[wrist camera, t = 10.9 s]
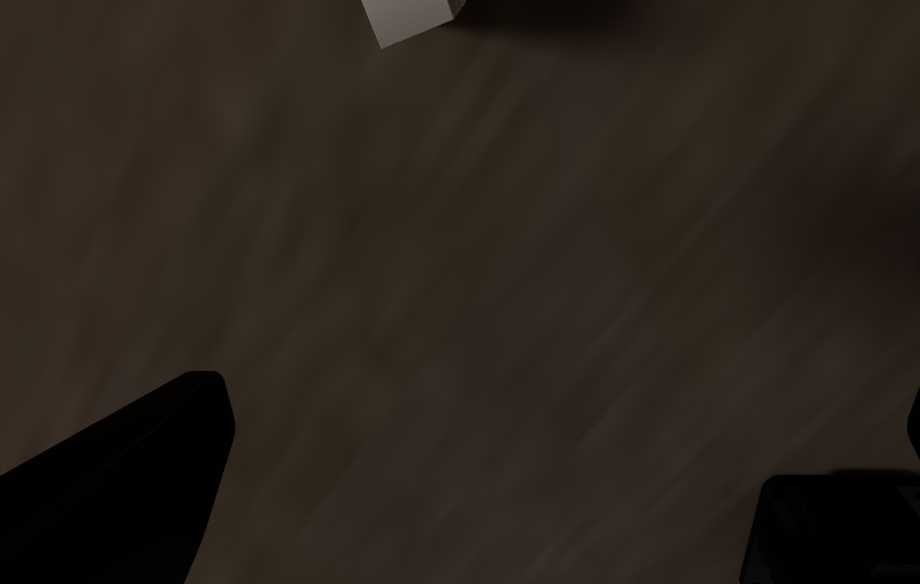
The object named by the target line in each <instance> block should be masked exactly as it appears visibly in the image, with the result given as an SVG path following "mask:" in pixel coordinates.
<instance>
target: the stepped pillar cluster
mask: <svg viewBox="0 0 920 584" xmlns="http://www.w3.org/2000/svg"><path fill="white" fill-rule="evenodd" d="M362 3H363V5H364V8H365V10H366V13H367V15H368V18H369V20H370V23H371V25H372V28H373V30H374V32H375V35H376V37H377V40H378V42H379V45H380V47H381V49H382V48H384V47H387V46H389V45H392V44H394V43H397V42H399V41H402V40H404V39H407V38H409V37H411V36H414V35H416V34H419V33H421V32H424V31H426V30H429V29H431V28H433V27H436V26H438V25H441V24H443V23H446V22H448V21H451V20H453V19H454V18H455V17H456V15H457V14H458V13H459V11H460V10H461V8H462V7H463V6H464V4H465V3H466V0H362Z"/></svg>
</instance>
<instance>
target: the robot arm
mask: <svg viewBox="0 0 920 584" xmlns="http://www.w3.org/2000/svg"><path fill="white" fill-rule="evenodd" d="M907 432H908V436H909V439H910V441H911V443H912V445H913V447H914V449H915V451H916V454H917V456H918V458H919V460H920V387H919V390H918V392H917V395H916V398H915V400H914V403H913V406H912V409H911V411H910V414H909V417H908V421H907ZM234 435H235V419H234V415H233V411H232V407H231V404H230V400H229V396H228V392H227V388H226V385H225V381H224V379H223V377H222V375H221V374H220V373H218V372H217V371H189V372H186V373H184V374H182V375H180V376H178V377H177V378H175V379H173V380H171V381H169V382H168V383H166V384H164V385H162V386H161V387H159V388H157V389H155V390H153V391H152V392H150V393H148V394H146V395H144V396H143V397H141V398H139V399H137V400H135V401H134V402H132V403H130V404H128V405H126V406H125V407H123V408H121V409H119V410H117V411H116V412H114V413H112V414H110V415H109V416H107V417H105V418H103V419H101V420H100V421H98V422H96V423H94V424H92V425H91V426H89V427H87V428H85V429H83V430H82V431H80V432H78V433H76V434H74V435H73V436H71V437H69V438H67V439H65V440H64V441H62V442H60V443H58V444H57V445H55V446H53V447H51V448H49V449H48V450H46V451H44V452H42V453H40V454H39V455H37V456H35V457H33V458H31V459H30V460H28V461H26V462H24V463H22V464H21V465H19V466H17V467H15V468H13V469H12V470H10V471H8V472H6V473H5V474H3V475H1V476H0V584H184V582H185V580H186V577H187V575H188V573H189V570H190V568H191V566H192V563H193V561H194V559H195V556H196V554H197V551H198V549H199V546H200V544H201V542H202V539H203V536H204V533H205V530H206V527H207V524H208V521H209V518H210V514H211V511H212V508H213V505H214V501H215V498H216V495H217V492H218V488H219V485H220V482H221V479H222V475H223V472H224V469H225V465H226V462H227V459H228V456H229V452H230V449H231V446H232V443H233V439H234ZM776 490H778V491H776ZM774 491H775V492H774ZM739 581H740V584H920V479H869V478H772V479H770V480H767V481H766V482H765V483H764V484H763V486H762V488H761V492H760V496H759V500H758V504H757V508H756V512H755V516H754V520H753V524H752V529H751V533H750V537H749V541H748V545H747V549H746V553H745V557H744V561H743V565H742V569H741V573H740V577H739Z"/></svg>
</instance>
